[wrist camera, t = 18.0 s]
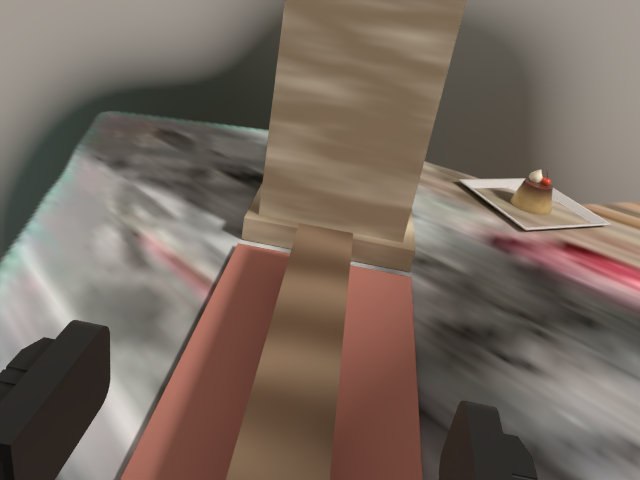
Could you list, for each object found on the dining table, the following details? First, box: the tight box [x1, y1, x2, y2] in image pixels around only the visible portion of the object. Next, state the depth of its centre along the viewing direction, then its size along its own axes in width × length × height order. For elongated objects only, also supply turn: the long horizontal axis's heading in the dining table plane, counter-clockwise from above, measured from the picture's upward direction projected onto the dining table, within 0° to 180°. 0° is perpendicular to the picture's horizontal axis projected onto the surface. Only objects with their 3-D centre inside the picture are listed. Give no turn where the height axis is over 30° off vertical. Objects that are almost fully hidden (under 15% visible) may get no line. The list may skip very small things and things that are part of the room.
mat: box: [120, 243, 423, 480], centre depth 34 cm, size 28×14×1 cm, turn 174°
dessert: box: [459, 170, 611, 231], centre depth 64 cm, size 12×12×5 cm
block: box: [226, 223, 353, 480], centre depth 33 cm, size 24×4×4 cm, turn 175°
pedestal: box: [242, 0, 466, 272], centre depth 47 cm, size 16×14×34 cm
